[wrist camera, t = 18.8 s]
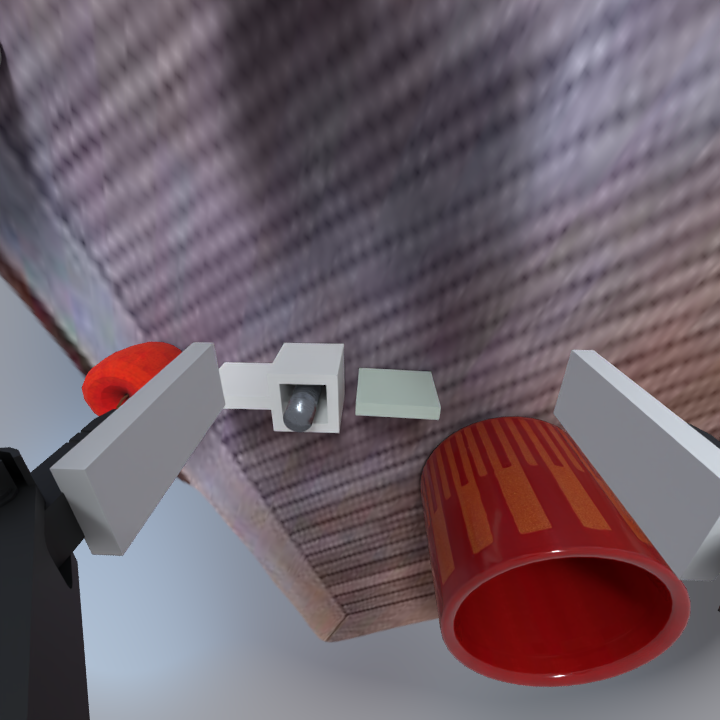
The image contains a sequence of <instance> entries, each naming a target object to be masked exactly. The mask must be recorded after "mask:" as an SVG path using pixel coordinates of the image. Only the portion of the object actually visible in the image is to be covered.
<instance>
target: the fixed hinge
mask: <svg viewBox="0 0 720 720" xmlns="http://www.w3.org/2000/svg"><path fill="white" fill-rule="evenodd" d="M219 373H220V378H221V384H222V389H223V394H224V399H225V404H226V405H225V406H224V408H227V409H265V410H271V412H272V420H273V428H274V431H290V432H295V431H292V430H290V429H289V428H287V427H286V426H285V424H284V422H283V415H284V413H285V410H286V408H287V406H288V403H289V401H290V398H291V396H292V393H293V391H294V388H295V386H296V384H309V385H326V387H322V390H321V394H320V397H319V401H318V405H317V408H316V412H315V416H314V419H313V423H312V426H311V427H310V428H309V429H308V430H306V431H304V432H325V433H339V430H340V424H341V417H342V411H343V404H344V398H345V377H344V344H321V343H284V344H283V346H282V348H281V349H280V351H279V353H278V355H277V356H276V358H275V360H274V362H273V363H230V362H225V363H224V364H223V365H222V366H221V367H220V368H219Z"/></svg>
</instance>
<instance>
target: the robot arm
mask: <svg viewBox="0 0 720 720" xmlns="http://www.w3.org/2000/svg"><path fill="white" fill-rule="evenodd" d="M225 405H226V404H225V399H224V394H223V389H222V384H221V378H220V373H219V368H218V363H217V358H216V353H215V347H214V343H202V342H193V343H192V344H191V345H190V346H189V347H188V348H186V349H185V350H184V351H183V352H182V353H181V354H180V355H178V356H177V357H176V358H175V359H174V360H173V361H172V362H170V363H169V364H168V365H167V366H166V367H165V368H164V369H162V370H161V371H160V372H159V373H158V374H157V375H156V376H154V377H153V378H152V379H151V380H150V381H149V382H148V383H147V384H145V385H144V386H143V387H142V388H141V389H140V390H139V391H137V392H136V393H135V394H134V395H133V396H132V397H131V398H129V399H128V400H127V401H126V402H125V403H124V404H123V405H121V406H120V407H119V408H118V409H112V410H110V411H108V412H106V413H105V414H103V415H101V416H99V417H97V418H96V419H94V420H93V421H91V422H90V423H89V424H88V425H87V426H86V427H84V428H83V429H82V430H81V433H77V434H76V435H75V436H74V437H72V438H71V439H70V440H69V443H65V444H64V445H63V446H62V447H61V448H59V449H58V450H57V451H56V452H55V453H53V454H52V455H51V456H50V457H49V458H47V459H46V460H45V461H44V462H43V463H41V464H40V465H39V466H38V467H37V468H36V469H34V470H33V471H32V472H31V473H30V471H29V469H28V468H27V466H26V464H25V462H24V460H23V458H22V457H21V455H20V453H19V451H18V450H17V449H14V448H10V447H8V448H0V720H90V717H89V706H88V705H89V704H88V692H87V679H86V666H85V653H84V640H83V628H82V615H81V603H80V589H79V576H78V564H77V560H76V558H75V556H74V554H73V551H74V550H75V549H76V547H77V546H78V545H79V544H80V543H81V541H82V540H83V539H85V540H86V543H87V545H88V547H89V549H90V550H91V553H92V554H93V555H117V556H123V555H124V553H125V552H126V550H127V549H128V547H129V546H130V545H131V543H132V542H133V540H134V539H135V537H136V536H137V534H138V533H139V531H140V530H141V528H142V527H143V526H144V524H145V522H146V521H147V519H148V518H149V517H150V515H151V514H152V512H153V511H154V509H155V508H156V506H157V505H158V503H159V502H160V500H161V499H162V498H163V496H164V495H165V493H166V492H167V490H168V489H169V487H170V486H171V484H172V483H173V481H174V480H175V478H176V477H177V475H178V474H179V473H180V471H181V470H182V468H183V467H184V465H185V464H186V462H187V461H188V459H189V458H190V456H191V455H192V453H193V452H194V450H195V449H196V448H197V446H198V445H199V443H200V442H201V440H202V439H203V437H204V436H205V434H206V433H207V431H208V430H209V428H210V427H211V425H212V424H213V422H214V421H215V420H216V418H217V417H218V415H219V414H220V412H221V411H222V409H223V408H224V406H225ZM554 415H555V416H556V417H557V419H558V420H559V421H560V423H561V424H562V425H563V427H564V428H565V429H566V431H567V432H568V433H569V435H570V436H571V437H572V439H573V440H574V441H575V443H576V444H577V445H578V446H579V448H580V449H581V450H582V452H583V453H584V454H585V456H586V457H587V458H588V460H589V461H590V462H591V464H592V465H593V466H594V468H595V469H596V470H597V472H598V473H599V474H600V476H601V477H602V478H603V479H604V481H605V482H606V483H607V485H608V486H609V487H610V489H611V490H612V491H613V493H614V494H615V495H616V497H617V498H618V499H619V501H620V502H621V503H622V505H623V506H624V507H625V509H626V510H627V511H628V512H629V514H630V515H631V516H632V518H633V519H634V520H635V522H636V523H637V524H638V526H639V527H640V528H641V530H642V531H643V532H644V534H645V535H646V536H647V538H648V539H649V540H650V542H651V543H652V544H653V545H654V547H655V548H656V549H657V551H658V552H659V553H660V555H661V556H662V557H663V559H664V560H665V561H666V563H667V564H668V565H669V567H670V568H671V569H672V571H673V572H674V573H675V575H676V576H677V577H678V579H679V580H698V581H714V580H715V579H716V577H717V576H718V575H719V573H720V441H718V440H717V439H716V438H714V437H713V436H712V435H710V434H708V433H706V432H704V431H702V430H700V429H699V428H697V427H695V426H693V425H691V424H689V423H686V422H685V421H683V420H682V419H681V418H679V417H678V416H677V415H676V414H674V413H673V412H672V411H670V410H669V409H668V408H667V407H665V406H664V405H663V404H662V403H660V402H659V401H658V400H656V399H655V398H654V397H653V396H651V395H650V394H649V393H647V392H646V391H645V390H644V389H642V388H641V387H640V386H639V385H637V384H636V383H635V382H633V381H632V380H631V379H630V378H628V377H627V376H626V375H625V374H623V373H622V372H621V371H619V370H618V369H617V368H616V367H614V366H613V365H612V364H610V363H609V362H608V361H607V360H605V359H604V358H603V357H602V356H600V355H599V354H598V353H596V352H595V351H594V350H572V351H571V354H570V358H569V361H568V365H567V368H566V372H565V375H564V378H563V382H562V385H561V389H560V392H559V396H558V399H557V403H556V406H555V410H554ZM718 611H719V612H720V606H719V609H718Z"/></svg>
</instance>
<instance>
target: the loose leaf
mask: <svg viewBox="0 0 720 720" xmlns="http://www.w3.org/2000/svg"><path fill="white" fill-rule="evenodd" d="M440 410H441V406H440V402H439V399H438V395H437V392H436V388H435V385H434V381H433V377H432V374H431V372H427V371H409V370H391V369H372V368H359V376H358V387H357V397H356V414H355V415H363V416H381V417H398V418H415V419H433V420H439V416H440Z"/></svg>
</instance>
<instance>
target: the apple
mask: <svg viewBox="0 0 720 720" xmlns="http://www.w3.org/2000/svg"><path fill="white" fill-rule="evenodd" d="M181 353H182V352H181V350H180V349H178V348H177V347H175V346H173V345H171V344H168V343H164V342H147V343H142V344H138V345H134V346H131V347H128V348H126V349H123V350H120V351H118V352H115V353H113V354H112V355H110V356H108V357H107V358H105V359H104V360H102V361H101V362H100V363H99V364H97V365H96V366H95V367H93V368H92V369H91V370H90V371H89V372H88V374H87V376H86V378H85V381H84V383H83V386H82V391H83V395H84V399H85V401H86V402H87V404H88V405H89V406H90V408H91V409H92V411H93V412H94V413H95V414H97V415H98V416H101V415H103V414H105V413H106V412H108V411H110V410H112V409H118V408H119V407H120V406H121V405H123V404H124V403H125V402H126V401H127V400H128V399H129V398H131V397H132V396H133V395H134V394H135V393H136V392H137V391H139V390H140V389H141V388H142V387H143V386H144V385H145V384H147V383H148V382H149V381H150V380H151V379H152V378H153V377H154V376H156V375H157V374H158V373H159V372H160V371H161V370H162V369H164V368H165V367H166V366H167V365H168V364H169V363H170V362H172V361H173V360H174V359H175V358H176V357H177V356H178V355H180V354H181Z"/></svg>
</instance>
